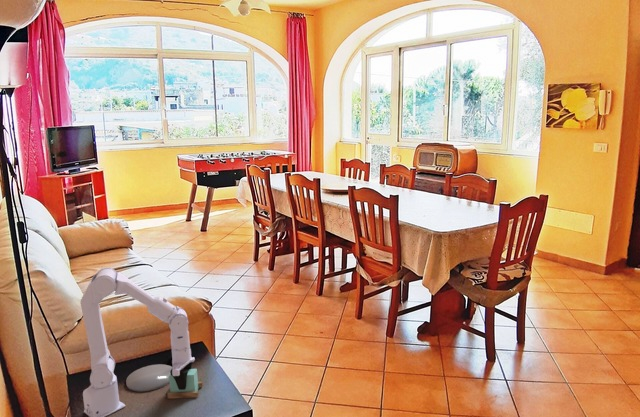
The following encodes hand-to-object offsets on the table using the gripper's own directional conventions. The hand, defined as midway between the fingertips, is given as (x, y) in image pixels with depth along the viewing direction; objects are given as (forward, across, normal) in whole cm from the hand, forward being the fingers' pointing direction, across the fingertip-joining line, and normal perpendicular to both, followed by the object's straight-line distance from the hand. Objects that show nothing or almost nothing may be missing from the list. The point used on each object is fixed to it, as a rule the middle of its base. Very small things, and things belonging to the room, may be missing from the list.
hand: (184, 385), depth 150 cm
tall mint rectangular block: (+2, 0, 0) cm, 2 cm away
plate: (+2, +9, +14) cm, 17 cm away
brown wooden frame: (+2, 0, 0) cm, 2 cm away
